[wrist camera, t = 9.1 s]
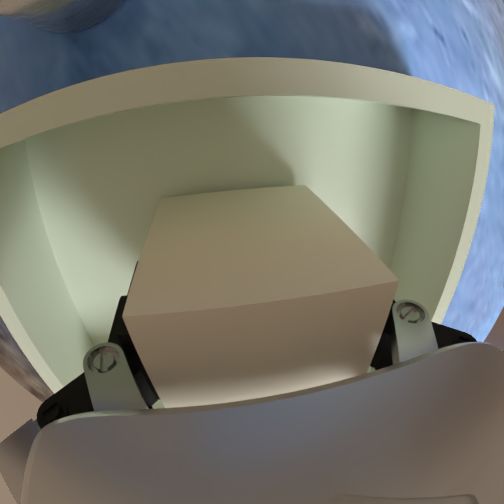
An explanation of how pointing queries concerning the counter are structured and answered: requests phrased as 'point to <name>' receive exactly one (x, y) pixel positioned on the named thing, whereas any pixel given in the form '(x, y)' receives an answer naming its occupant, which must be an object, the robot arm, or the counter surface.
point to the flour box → (254, 297)
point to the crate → (226, 179)
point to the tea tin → (60, 13)
